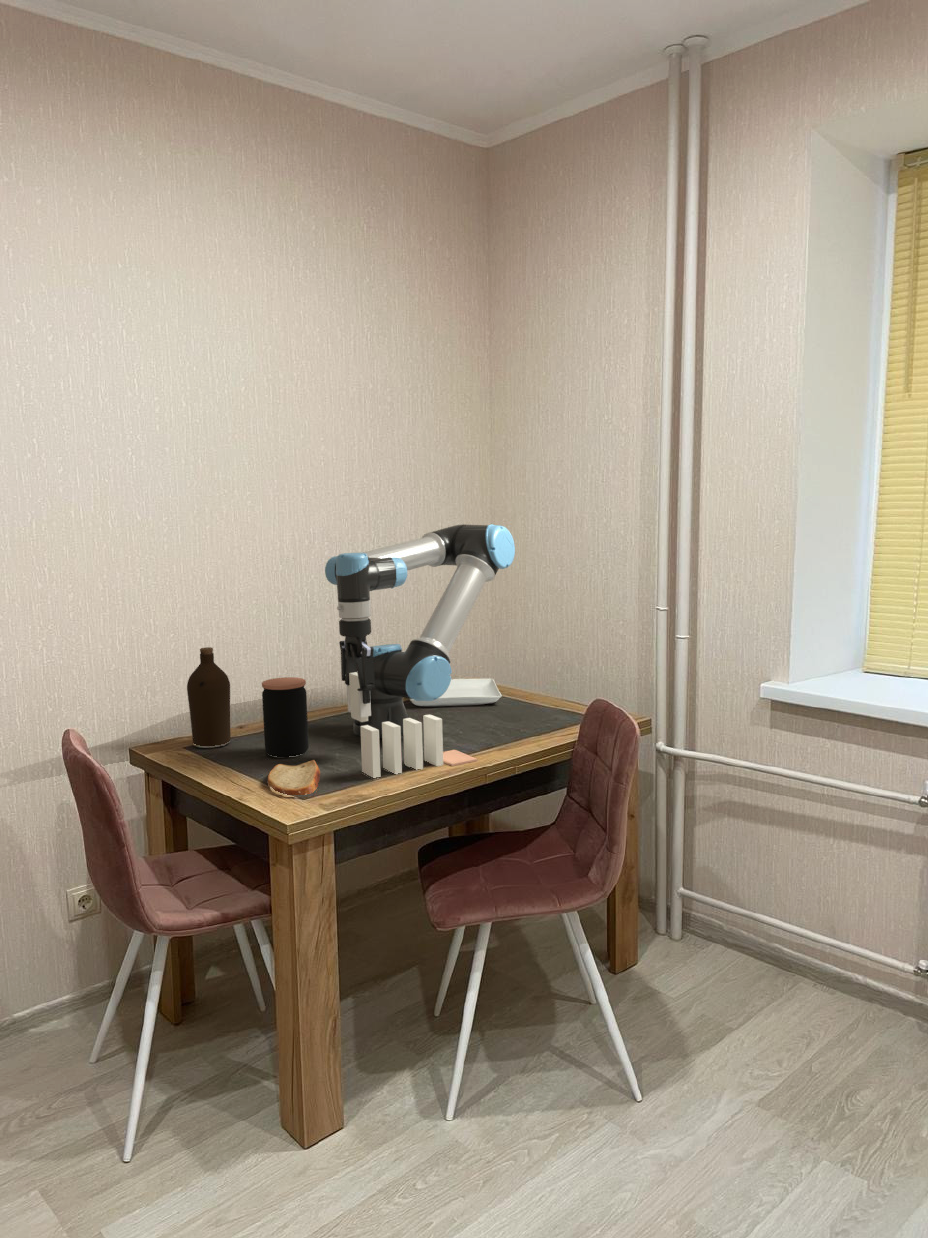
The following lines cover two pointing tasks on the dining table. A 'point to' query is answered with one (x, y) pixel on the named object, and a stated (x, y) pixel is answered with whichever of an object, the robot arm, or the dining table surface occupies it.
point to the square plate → (466, 693)
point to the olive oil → (209, 702)
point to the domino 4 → (413, 743)
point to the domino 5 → (433, 740)
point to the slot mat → (456, 758)
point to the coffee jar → (285, 716)
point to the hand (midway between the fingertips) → (359, 713)
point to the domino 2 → (370, 751)
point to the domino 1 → (355, 697)
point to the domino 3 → (391, 747)
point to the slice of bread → (295, 778)
